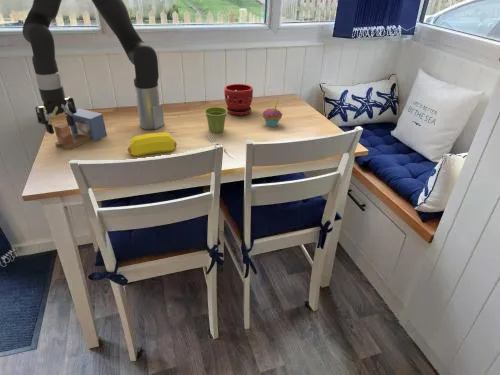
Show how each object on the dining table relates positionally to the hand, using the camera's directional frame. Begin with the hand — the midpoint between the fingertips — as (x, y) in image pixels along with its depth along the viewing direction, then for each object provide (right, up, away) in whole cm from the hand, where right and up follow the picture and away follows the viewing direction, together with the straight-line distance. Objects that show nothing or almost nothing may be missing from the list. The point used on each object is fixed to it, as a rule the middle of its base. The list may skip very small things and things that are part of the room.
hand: (61, 129), depth 133 cm
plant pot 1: (+55, +3, +20) cm, 59 cm away
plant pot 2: (+64, +14, +39) cm, 76 cm away
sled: (+3, -3, +8) cm, 9 cm away
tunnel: (+5, 0, +12) cm, 13 cm away
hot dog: (+33, -8, +2) cm, 34 cm away
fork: (+59, -7, +5) cm, 60 cm away
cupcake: (+79, +6, +26) cm, 83 cm away
